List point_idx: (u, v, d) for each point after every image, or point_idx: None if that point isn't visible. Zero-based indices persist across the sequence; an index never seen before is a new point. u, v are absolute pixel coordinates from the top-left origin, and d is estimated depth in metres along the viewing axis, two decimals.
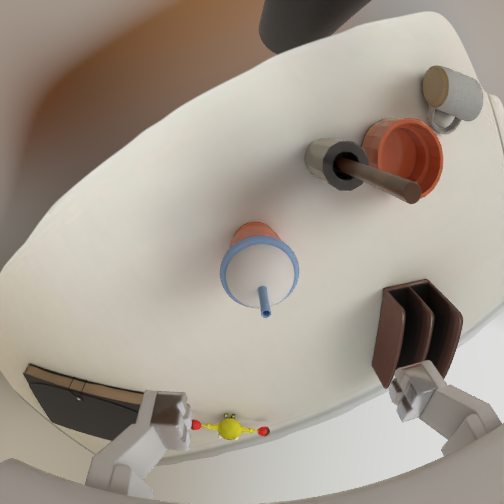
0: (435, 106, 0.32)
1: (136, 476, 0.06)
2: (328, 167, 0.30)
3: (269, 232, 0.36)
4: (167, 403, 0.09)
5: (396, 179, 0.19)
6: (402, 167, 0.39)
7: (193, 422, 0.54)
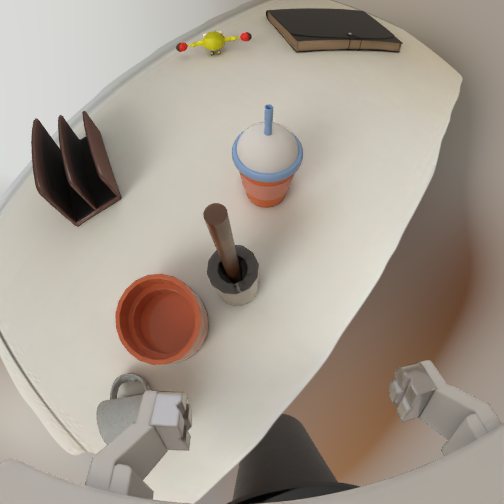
0: None
1: (136, 476, 0.06)
2: (249, 259, 0.32)
3: (267, 192, 0.38)
4: (167, 403, 0.09)
5: (227, 229, 0.21)
6: (153, 315, 0.39)
7: (248, 38, 0.55)
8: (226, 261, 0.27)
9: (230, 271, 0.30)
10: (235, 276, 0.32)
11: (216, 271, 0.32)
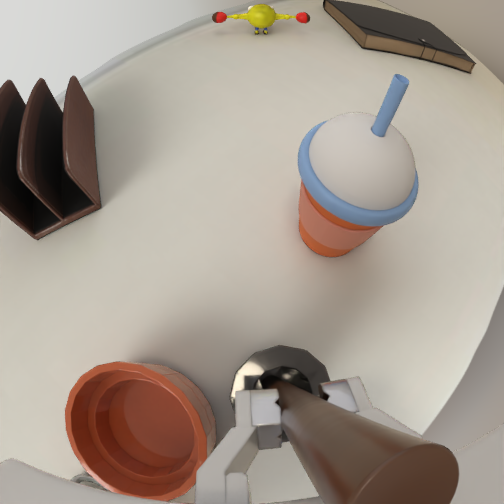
0: None
1: (248, 482, 0.06)
2: (318, 379, 0.15)
3: (347, 238, 0.21)
4: (264, 401, 0.09)
5: None
6: (128, 408, 0.21)
7: (306, 19, 0.39)
8: None
9: None
10: None
11: None
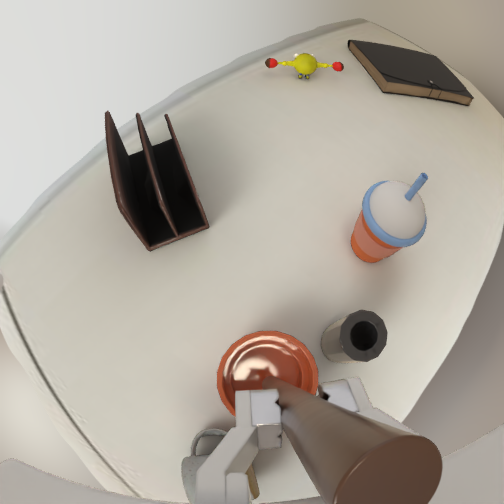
0: None
1: (248, 482, 0.06)
2: (380, 326, 0.29)
3: (385, 252, 0.35)
4: (264, 401, 0.09)
5: None
6: (248, 368, 0.35)
7: (341, 68, 0.54)
8: None
9: None
10: None
11: (348, 337, 0.29)
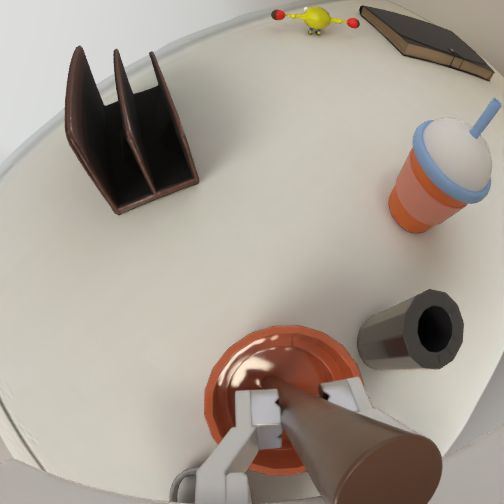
0: None
1: (248, 482, 0.06)
2: (454, 314, 0.17)
3: (442, 214, 0.23)
4: (264, 401, 0.09)
5: None
6: (253, 382, 0.23)
7: (357, 25, 0.41)
8: None
9: None
10: None
11: (416, 333, 0.16)
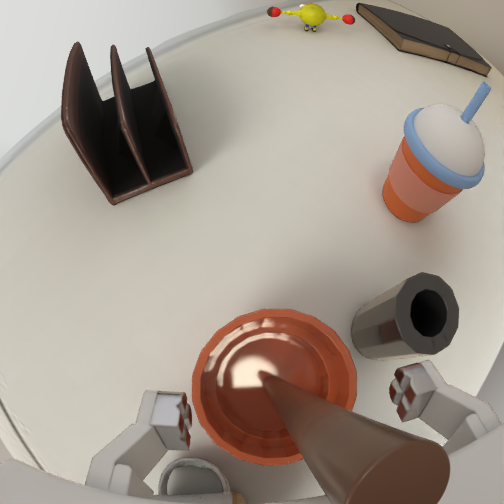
0: (234, 496, 0.16)
1: (136, 476, 0.06)
2: (449, 298, 0.17)
3: (435, 201, 0.23)
4: (167, 403, 0.09)
5: None
6: (244, 370, 0.23)
7: (352, 21, 0.41)
8: None
9: None
10: None
11: (408, 316, 0.16)
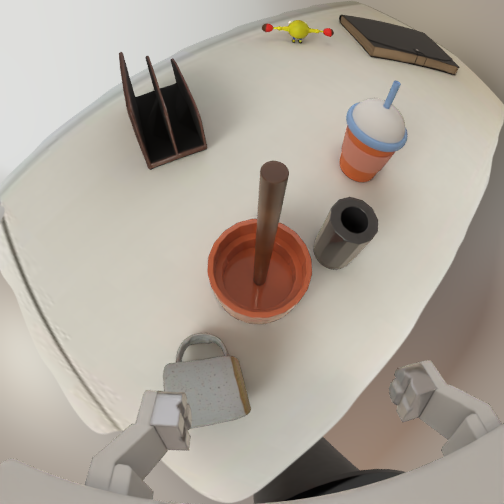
0: None
1: (136, 476, 0.06)
2: (370, 213, 0.31)
3: (371, 163, 0.37)
4: (167, 403, 0.09)
5: (283, 194, 0.17)
6: (240, 269, 0.37)
7: (331, 33, 0.55)
8: (264, 242, 0.23)
9: (262, 257, 0.27)
10: (265, 265, 0.29)
11: (339, 219, 0.30)
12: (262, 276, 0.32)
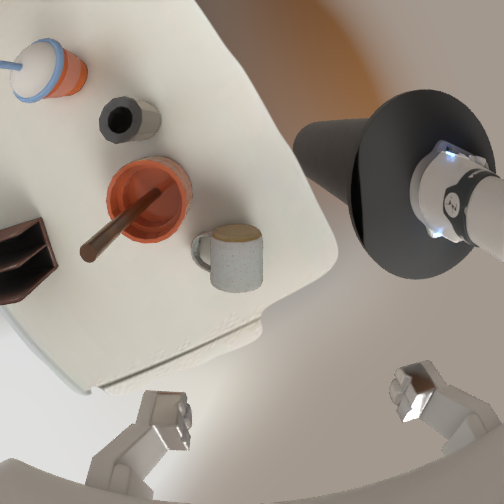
0: (212, 233, 0.40)
1: (136, 476, 0.06)
2: (117, 102, 0.28)
3: (71, 75, 0.28)
4: (167, 403, 0.09)
5: (100, 239, 0.22)
6: None
7: None
8: (129, 224, 0.28)
9: (139, 214, 0.31)
10: (145, 206, 0.33)
11: (117, 134, 0.29)
12: (153, 199, 0.37)
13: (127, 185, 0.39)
